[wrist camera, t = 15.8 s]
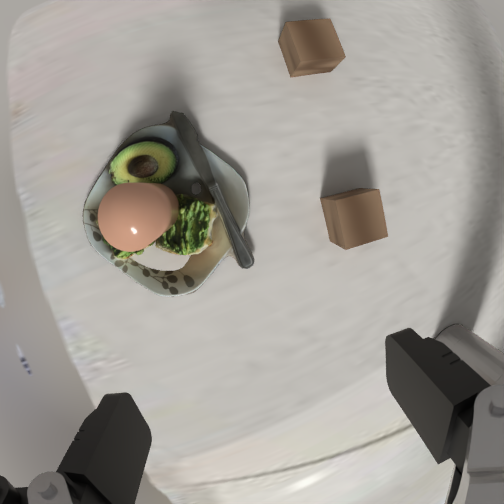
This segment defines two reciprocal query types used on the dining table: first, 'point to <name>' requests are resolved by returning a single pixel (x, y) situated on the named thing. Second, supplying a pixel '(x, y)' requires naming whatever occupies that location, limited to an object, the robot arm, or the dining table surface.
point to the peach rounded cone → (137, 214)
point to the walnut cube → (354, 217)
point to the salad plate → (190, 206)
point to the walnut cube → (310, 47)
